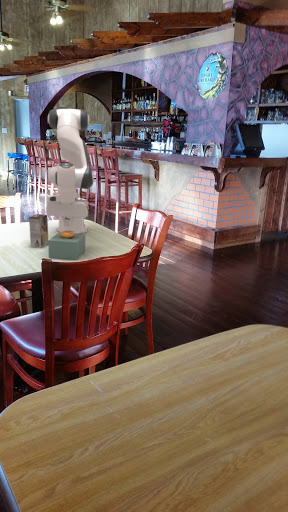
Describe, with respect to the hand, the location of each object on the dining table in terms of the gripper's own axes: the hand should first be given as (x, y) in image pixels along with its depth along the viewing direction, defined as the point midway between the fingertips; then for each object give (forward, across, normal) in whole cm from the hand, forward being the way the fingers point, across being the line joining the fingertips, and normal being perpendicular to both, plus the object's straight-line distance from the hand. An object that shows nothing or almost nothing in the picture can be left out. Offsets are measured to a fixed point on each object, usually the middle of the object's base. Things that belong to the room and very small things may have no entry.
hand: (67, 225), depth 206 cm
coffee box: (+15, +19, -11) cm, 27 cm away
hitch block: (+15, 0, +1) cm, 15 cm away
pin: (+14, 0, +1) cm, 14 cm away
